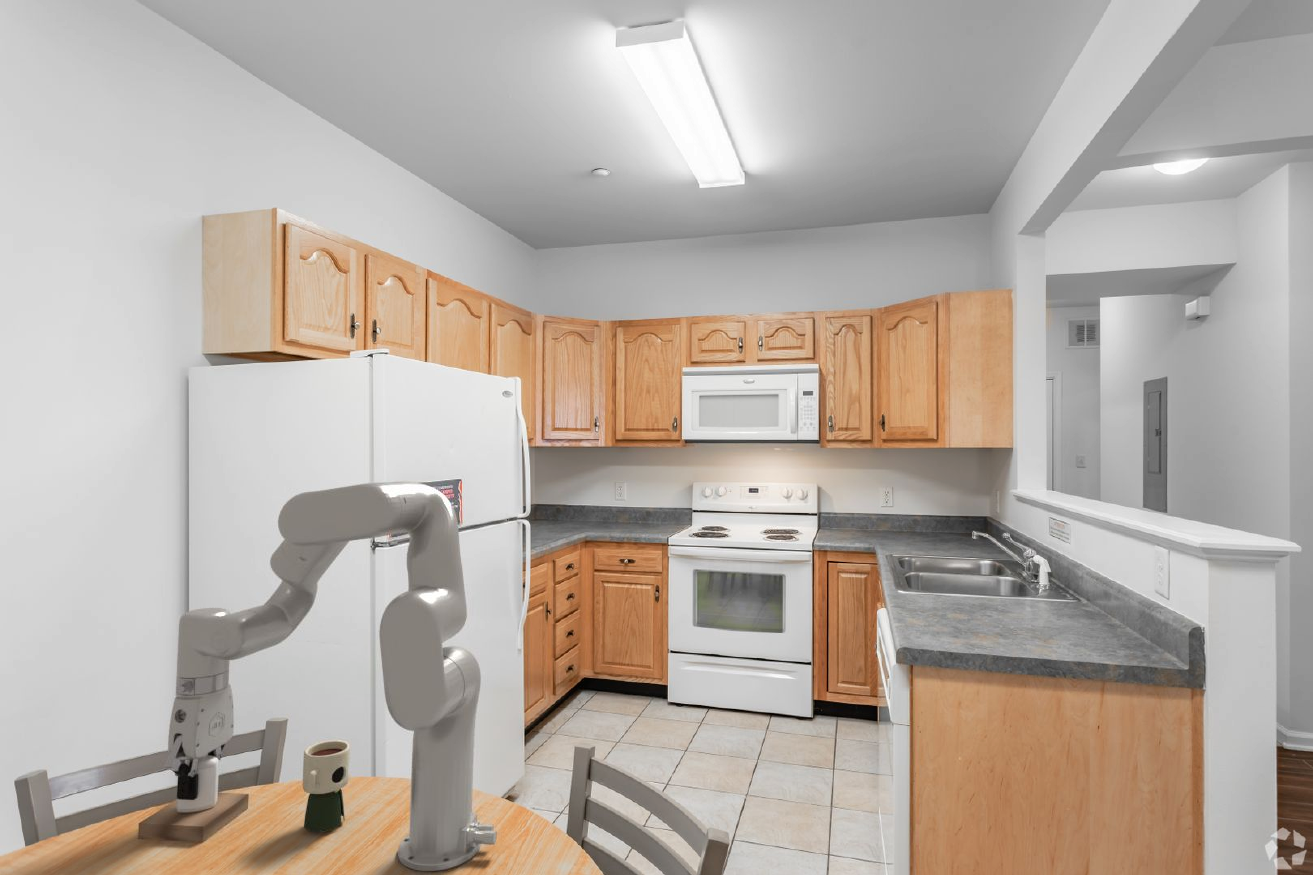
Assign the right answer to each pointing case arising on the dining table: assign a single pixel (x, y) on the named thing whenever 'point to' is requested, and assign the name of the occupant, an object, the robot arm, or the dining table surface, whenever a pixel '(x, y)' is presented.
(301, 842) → the dining table surface
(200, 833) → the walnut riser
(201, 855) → the dining table surface
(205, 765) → the eye dropper bottle
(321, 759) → the character mug
